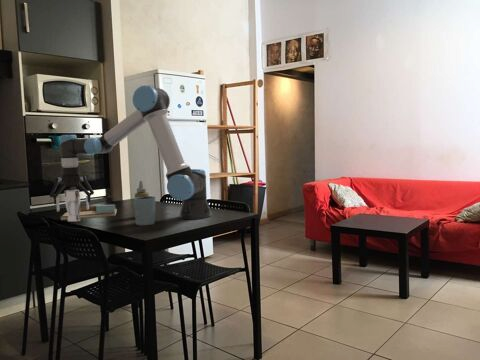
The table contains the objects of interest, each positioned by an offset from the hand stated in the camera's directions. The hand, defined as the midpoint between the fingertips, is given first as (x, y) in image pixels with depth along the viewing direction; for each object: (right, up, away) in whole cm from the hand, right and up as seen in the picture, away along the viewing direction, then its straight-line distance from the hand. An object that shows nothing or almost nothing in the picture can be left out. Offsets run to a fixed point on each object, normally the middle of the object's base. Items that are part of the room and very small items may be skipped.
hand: (73, 210), depth 207 cm
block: (+13, -2, +11) cm, 17 cm away
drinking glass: (+38, -5, -13) cm, 41 cm away
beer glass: (0, -5, 0) cm, 5 cm away
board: (+3, -4, +15) cm, 16 cm away
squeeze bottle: (+33, -4, +4) cm, 34 cm away
